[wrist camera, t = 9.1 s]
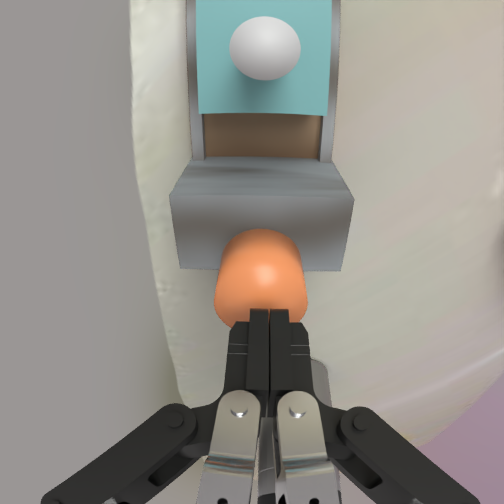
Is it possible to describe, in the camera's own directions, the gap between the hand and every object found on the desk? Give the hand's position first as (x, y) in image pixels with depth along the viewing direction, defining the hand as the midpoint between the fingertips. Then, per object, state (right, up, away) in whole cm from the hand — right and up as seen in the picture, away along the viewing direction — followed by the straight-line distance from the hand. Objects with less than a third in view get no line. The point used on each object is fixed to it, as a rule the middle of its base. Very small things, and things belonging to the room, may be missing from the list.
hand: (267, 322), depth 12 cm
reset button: (0, +2, +3) cm, 4 cm away
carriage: (0, +16, +5) cm, 16 cm away
